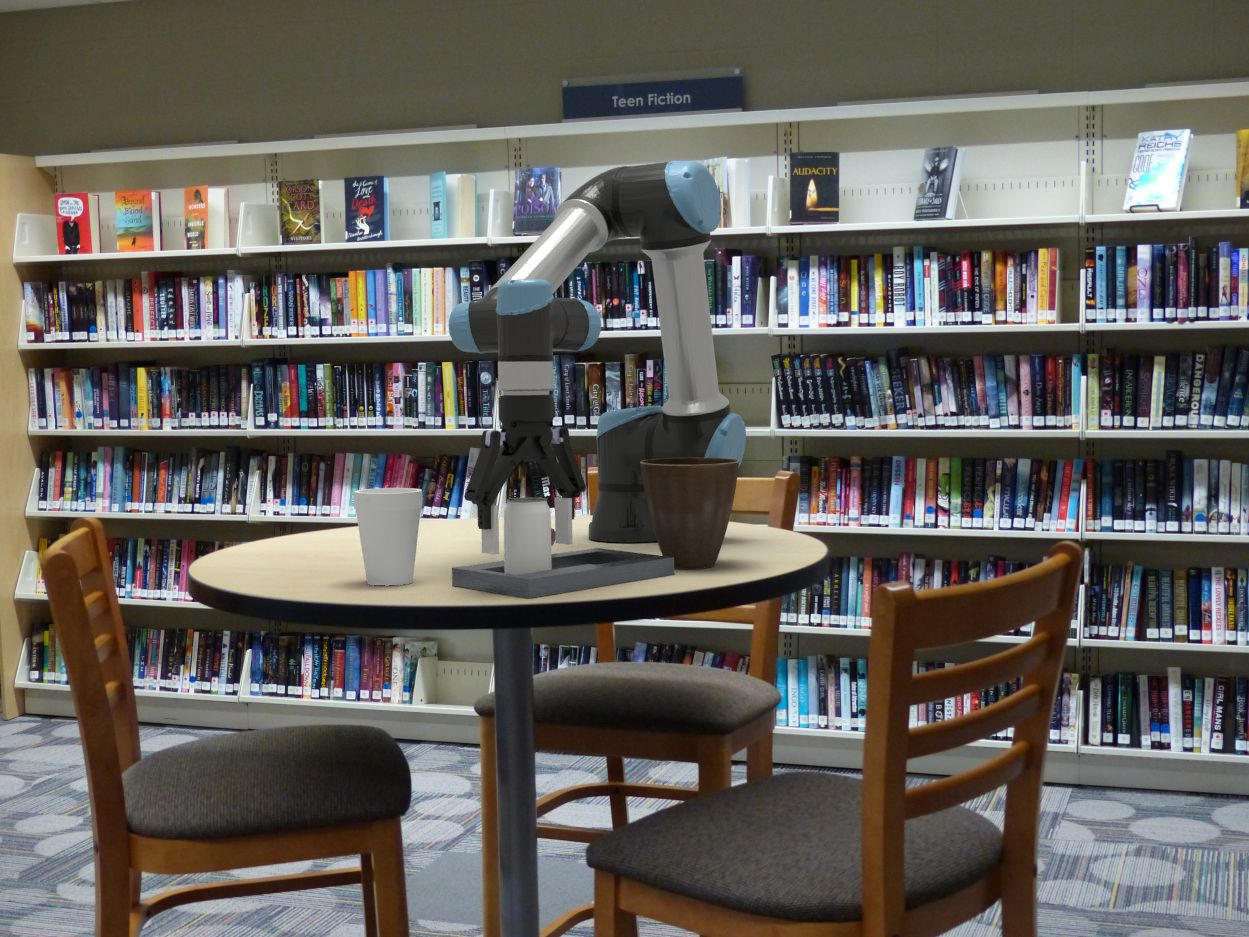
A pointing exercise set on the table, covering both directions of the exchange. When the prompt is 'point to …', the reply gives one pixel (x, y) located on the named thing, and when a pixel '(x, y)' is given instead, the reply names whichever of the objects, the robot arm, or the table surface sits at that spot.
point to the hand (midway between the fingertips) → (528, 548)
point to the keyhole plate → (565, 573)
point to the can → (527, 536)
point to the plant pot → (690, 506)
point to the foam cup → (388, 533)
